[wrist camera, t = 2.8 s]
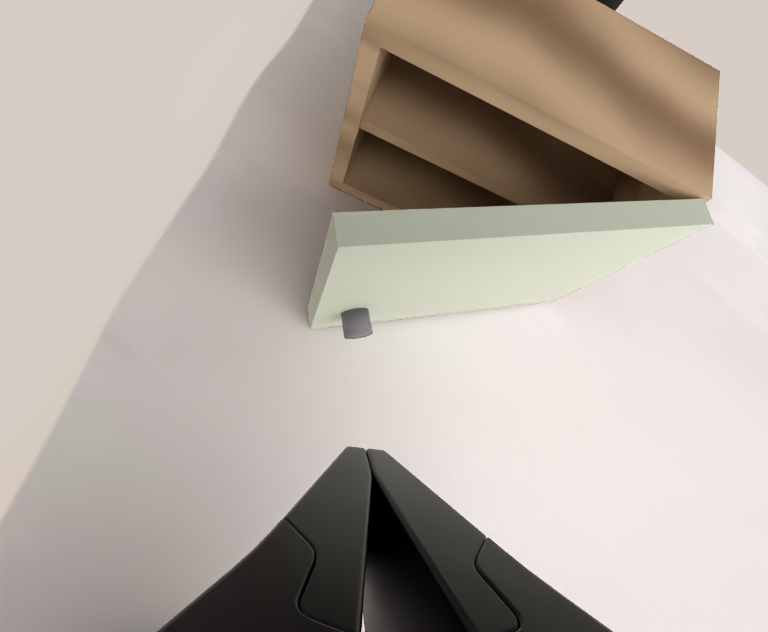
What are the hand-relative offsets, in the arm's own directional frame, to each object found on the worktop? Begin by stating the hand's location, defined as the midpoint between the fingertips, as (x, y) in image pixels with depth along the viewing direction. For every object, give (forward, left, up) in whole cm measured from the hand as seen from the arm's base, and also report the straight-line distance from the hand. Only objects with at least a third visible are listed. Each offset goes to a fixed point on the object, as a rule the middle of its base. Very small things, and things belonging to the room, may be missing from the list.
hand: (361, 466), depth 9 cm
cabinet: (+19, -3, -13) cm, 23 cm away
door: (+10, -5, -13) cm, 17 cm away
